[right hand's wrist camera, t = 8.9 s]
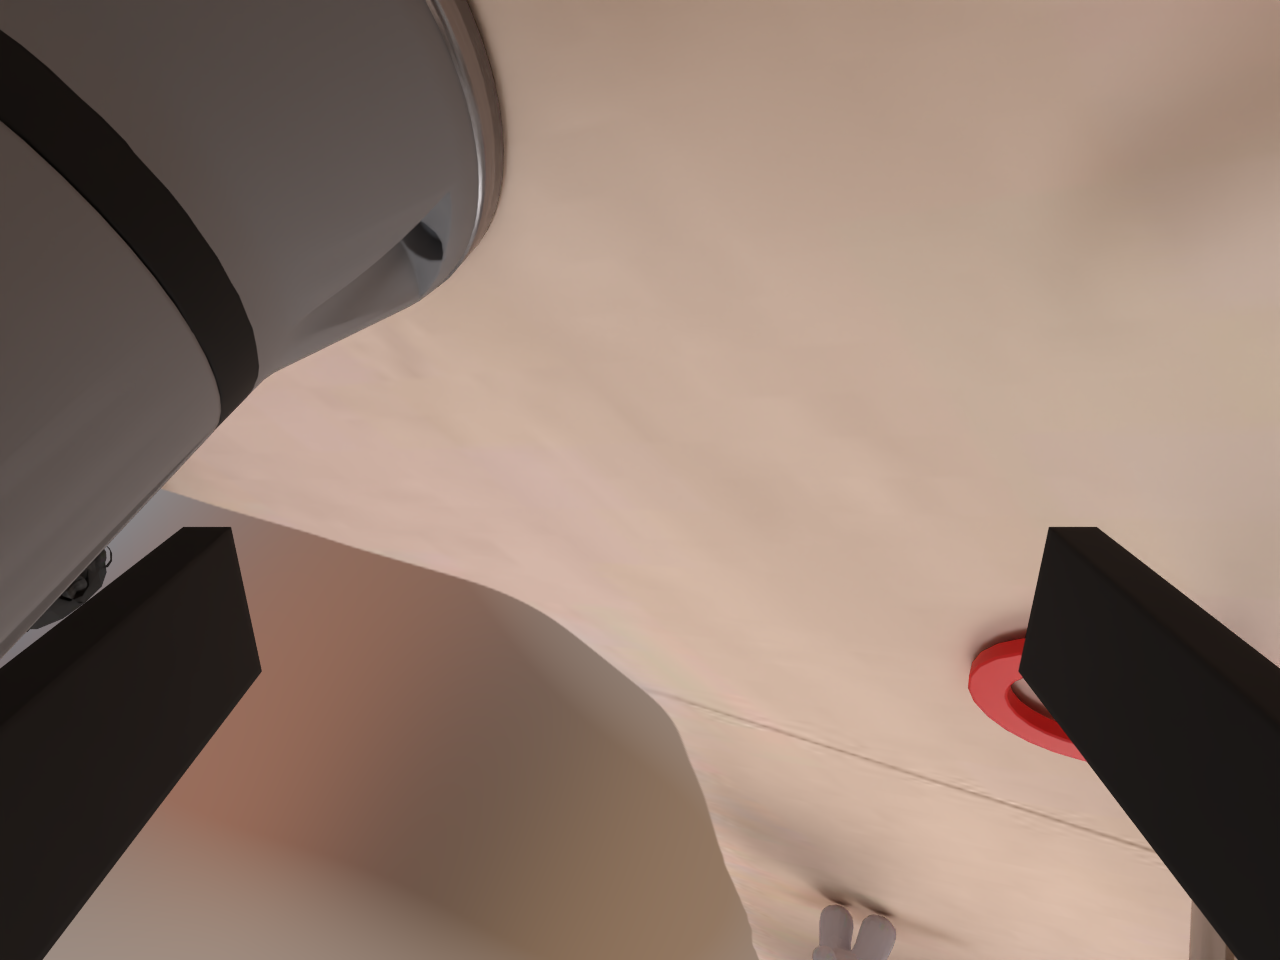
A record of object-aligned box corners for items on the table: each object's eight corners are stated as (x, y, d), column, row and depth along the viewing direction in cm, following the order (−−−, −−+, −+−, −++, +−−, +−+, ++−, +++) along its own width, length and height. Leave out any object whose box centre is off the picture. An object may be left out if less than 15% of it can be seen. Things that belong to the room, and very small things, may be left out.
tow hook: (990, 718, 36) (1245, 767, 30) (927, 1028, 29) (1240, 1167, 23) (955, 613, 31) (1253, 650, 25) (869, 960, 24) (1250, 1115, 18)
